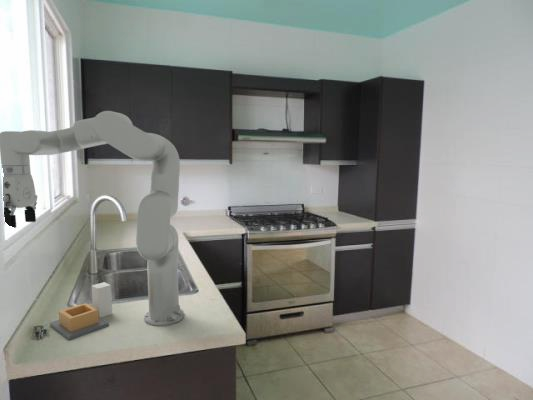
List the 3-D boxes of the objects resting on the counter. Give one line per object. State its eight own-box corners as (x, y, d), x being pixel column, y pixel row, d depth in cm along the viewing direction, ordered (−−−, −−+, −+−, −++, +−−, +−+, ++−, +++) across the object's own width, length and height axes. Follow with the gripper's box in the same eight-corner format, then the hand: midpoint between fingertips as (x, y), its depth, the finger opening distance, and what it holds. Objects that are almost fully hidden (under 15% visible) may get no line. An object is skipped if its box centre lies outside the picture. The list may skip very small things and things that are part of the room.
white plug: (112, 313, 128) (110, 285, 127) (99, 317, 125) (97, 288, 124) (106, 310, 131) (104, 282, 130) (93, 314, 128) (91, 285, 126)
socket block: (108, 325, 119) (107, 310, 119) (68, 340, 110) (67, 323, 110) (88, 313, 128) (87, 299, 128) (50, 325, 119) (48, 310, 119)
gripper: (9, 172, 111) (14, 230, 113) (44, 169, 128) (48, 219, 130) (-16, 172, 111) (-11, 230, 113) (22, 169, 128) (26, 219, 130)
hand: (21, 224), depth 122 cm, fingers open, 9 cm apart
